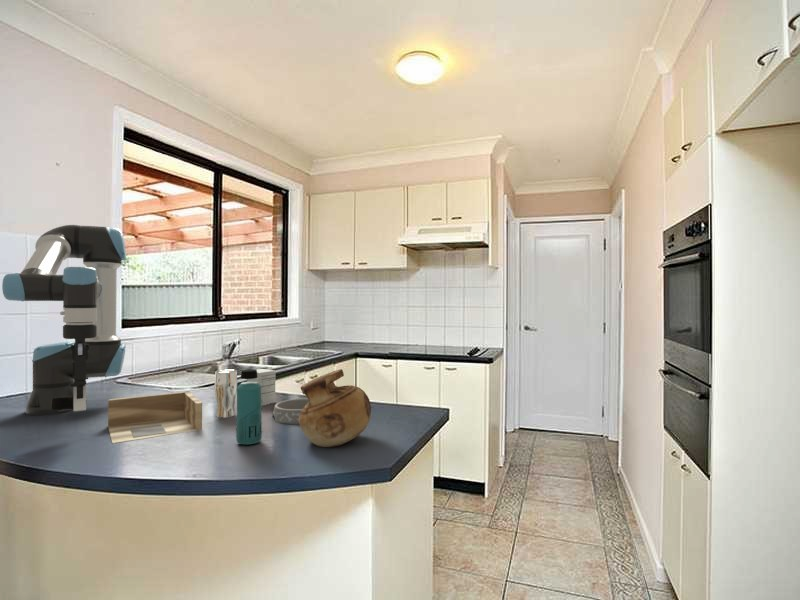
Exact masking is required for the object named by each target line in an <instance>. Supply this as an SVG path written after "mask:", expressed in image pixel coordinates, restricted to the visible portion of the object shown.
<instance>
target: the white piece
mask: <svg viewBox="0 0 800 600" xmlns="http://www.w3.org/2000/svg"><path fill="white" fill-rule="evenodd" d="M237 372H238V370H237V369H219V370H216V371H214V373H215V374H214V392H215V393H214V394H215V400H216V405H217V406H216V408H217V409H216V413H215V417H216V418H221V417H223V418H230V417H234V416H237V412H236V408H235V406H236V405H235V404H236V403H235V402H236V399H237V387H238V373H237Z"/></svg>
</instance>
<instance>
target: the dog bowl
mask: <svg viewBox="0 0 800 600" xmlns="http://www.w3.org/2000/svg"><path fill="white" fill-rule="evenodd" d="M308 402H309V400H308V398H307V397H306V398H293V399H291V398H290V399H287V400H282V401H279V402H277V403H276V404H274V408H273V412H272V417H274V421H275V422H276V423H280V424H290V425H291V424H297V425H298V424H299V417H300V414H301V412H302V410H303V408H304V407H305V406H306V404H307V403H308ZM299 425H300V424H299Z"/></svg>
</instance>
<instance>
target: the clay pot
mask: <svg viewBox="0 0 800 600" xmlns="http://www.w3.org/2000/svg"><path fill="white" fill-rule="evenodd" d="M344 376H345V375H344V371H343V369H337V370H334V371H332V372H328V373H326V374H324V375H323V374H322V375H321V376H319V377H316V378H314V379H312V380H310V381H308V382H306V383H304V384H302V385H301V386H300V390H301V393H302V394H303V395H305V396H306V398H308V400H309V402H308V403H307V404H306V406H305V407H304V408H303V410H302V412H301V414H300V417H299V426H300V429H301V431H302V432H303V434H304V435H305V436H306V438H307V439H308V440H309V441H310V442H311V443H313V444H314V445H315V446H317V447H320V448H321V447H323V448H335V447H338V446H342V445H344V444H346V443H348V442H350V441H351V440H353V439H355V438H356V437H358V436H359V435H360V434H361V433H363V432H364V430H366V428H367V426H368V424H369V423H370V419H371V415H372V414H371V413H372V407H371V406H372V405H371V401H370V398H369V396H368V395H367V393H366V392H365V391H364V390H363V389H362V388H360V387H359V386H356V385H340V386H338V385H336V384H335V382H336V381H337V380H339V379H341V378H342V377H344Z"/></svg>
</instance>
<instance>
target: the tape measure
mask: <svg viewBox="0 0 800 600" xmlns="http://www.w3.org/2000/svg"><path fill="white" fill-rule="evenodd" d="M87 402H88V400H87V399H86V404H87ZM51 407H52V409H53V410H58V411H64V410H69V409H71V410H73V411H74V396H72V397H56V398H53V399H52V402H51Z"/></svg>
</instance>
